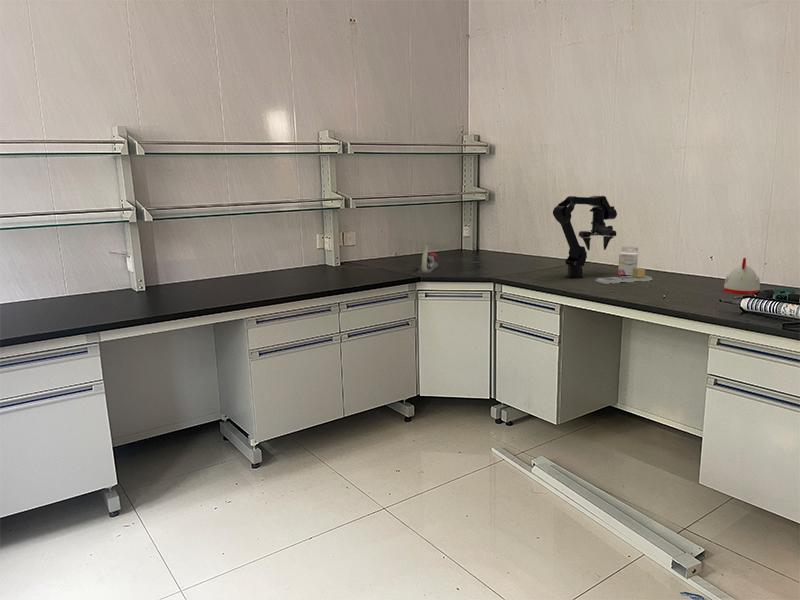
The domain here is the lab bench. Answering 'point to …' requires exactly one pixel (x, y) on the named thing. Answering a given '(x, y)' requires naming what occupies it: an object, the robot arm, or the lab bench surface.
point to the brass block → (638, 272)
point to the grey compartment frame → (619, 279)
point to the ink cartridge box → (627, 260)
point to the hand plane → (427, 261)
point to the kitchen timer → (742, 280)
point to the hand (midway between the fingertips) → (596, 250)
